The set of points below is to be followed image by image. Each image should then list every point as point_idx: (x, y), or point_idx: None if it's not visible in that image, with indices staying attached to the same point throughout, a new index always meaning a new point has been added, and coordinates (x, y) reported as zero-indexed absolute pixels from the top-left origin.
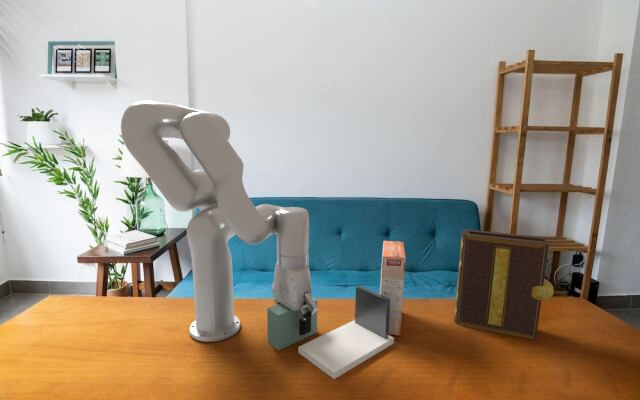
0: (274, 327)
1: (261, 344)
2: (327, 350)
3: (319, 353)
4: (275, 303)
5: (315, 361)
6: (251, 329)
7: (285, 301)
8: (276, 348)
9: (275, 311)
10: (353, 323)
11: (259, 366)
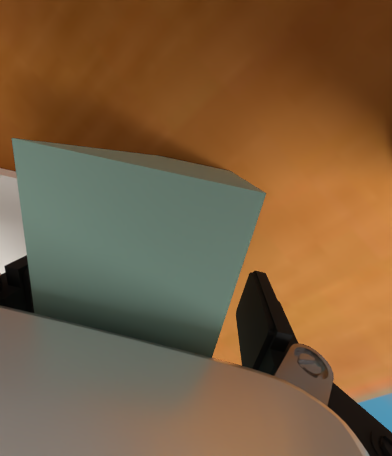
0: (158, 159)
1: (240, 142)
2: (11, 236)
3: (10, 207)
4: (309, 348)
5: (1, 172)
6: (353, 197)
7: (5, 393)
8: (171, 158)
9: (115, 194)
10: None
11: (134, 12)
